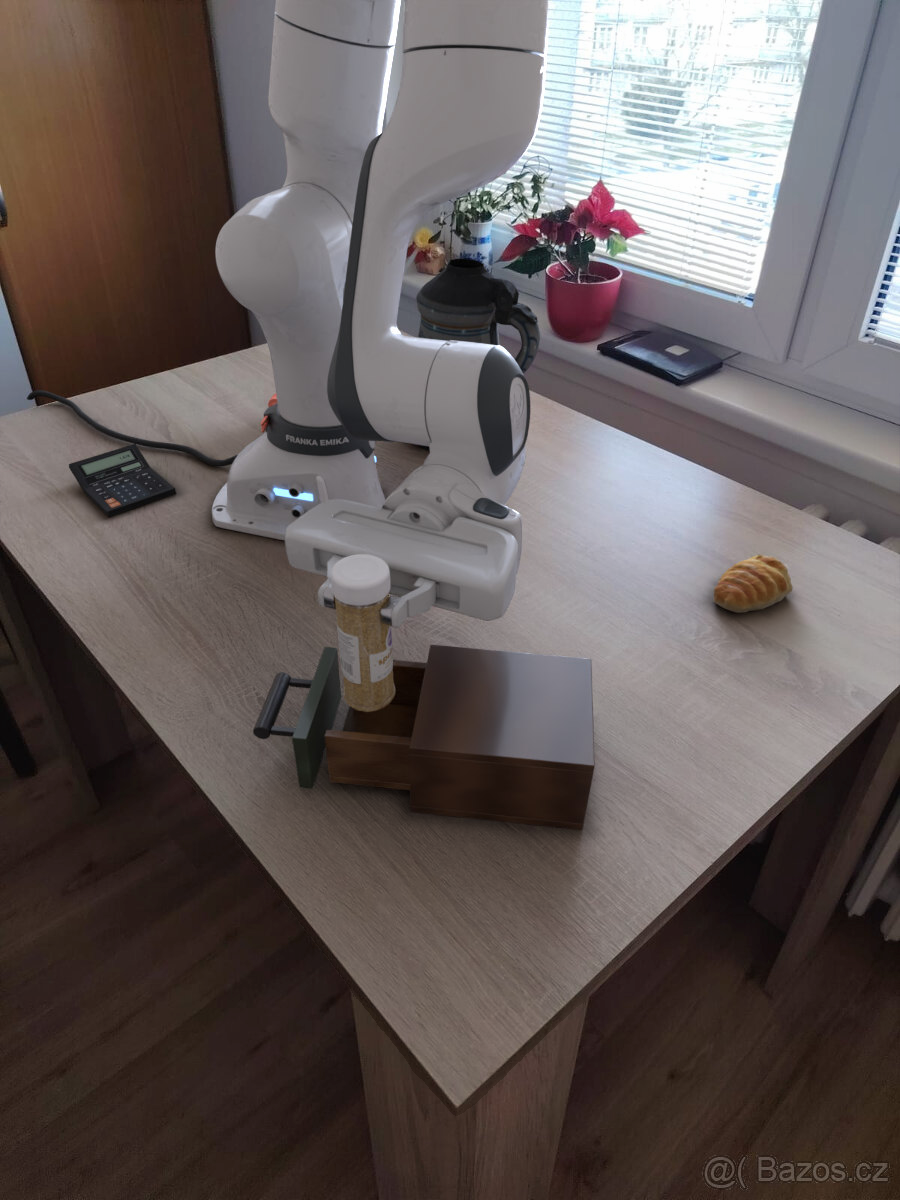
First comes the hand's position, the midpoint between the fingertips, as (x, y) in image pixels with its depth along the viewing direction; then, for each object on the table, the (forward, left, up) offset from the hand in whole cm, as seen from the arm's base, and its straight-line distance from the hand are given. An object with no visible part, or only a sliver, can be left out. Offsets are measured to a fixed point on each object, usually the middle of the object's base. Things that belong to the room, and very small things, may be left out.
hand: (357, 610), depth 64 cm
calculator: (-42, +43, -17) cm, 62 cm away
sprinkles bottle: (0, +1, -10) cm, 10 cm away
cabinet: (+12, +1, -17) cm, 21 cm away
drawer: (0, +1, -16) cm, 16 cm away
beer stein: (+2, +67, -17) cm, 69 cm away
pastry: (+39, +30, -17) cm, 52 cm away
